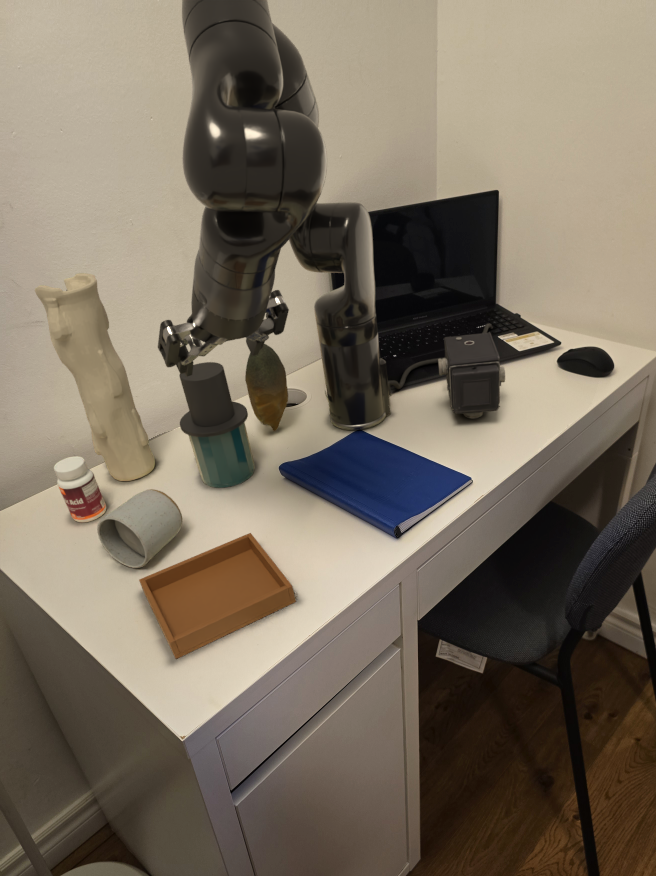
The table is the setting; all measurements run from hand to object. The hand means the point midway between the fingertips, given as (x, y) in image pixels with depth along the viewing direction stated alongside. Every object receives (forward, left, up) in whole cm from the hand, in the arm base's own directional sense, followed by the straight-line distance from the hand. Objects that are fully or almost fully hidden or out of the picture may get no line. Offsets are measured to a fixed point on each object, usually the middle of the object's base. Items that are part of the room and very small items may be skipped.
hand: (219, 358), depth 79 cm
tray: (+11, +15, -22) cm, 29 cm away
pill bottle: (+20, -13, -22) cm, 32 cm away
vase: (+12, -21, -22) cm, 33 cm away
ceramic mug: (+16, 0, -22) cm, 27 cm away
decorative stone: (-11, -17, -22) cm, 30 cm away
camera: (-40, -2, -22) cm, 46 cm away
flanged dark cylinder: (0, -10, -14) cm, 17 cm away
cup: (0, -10, -22) cm, 24 cm away
